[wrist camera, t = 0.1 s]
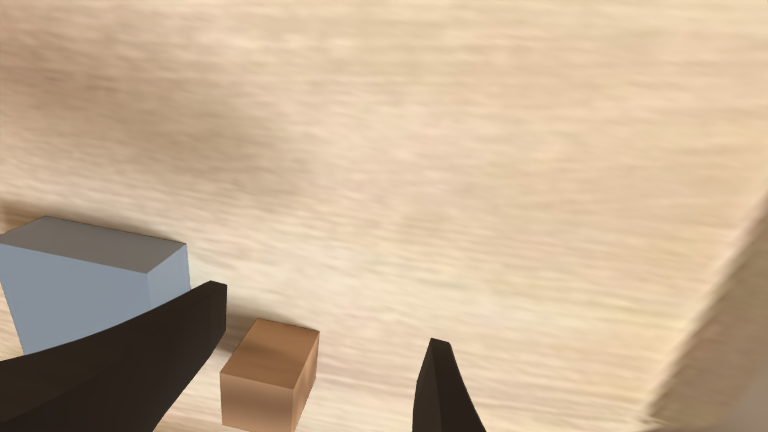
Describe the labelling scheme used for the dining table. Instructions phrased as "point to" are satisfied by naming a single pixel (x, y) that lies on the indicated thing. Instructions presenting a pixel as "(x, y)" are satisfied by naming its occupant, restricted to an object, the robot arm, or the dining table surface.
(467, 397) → the robot arm
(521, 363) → the dining table surface
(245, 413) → the walnut block
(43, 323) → the base block
